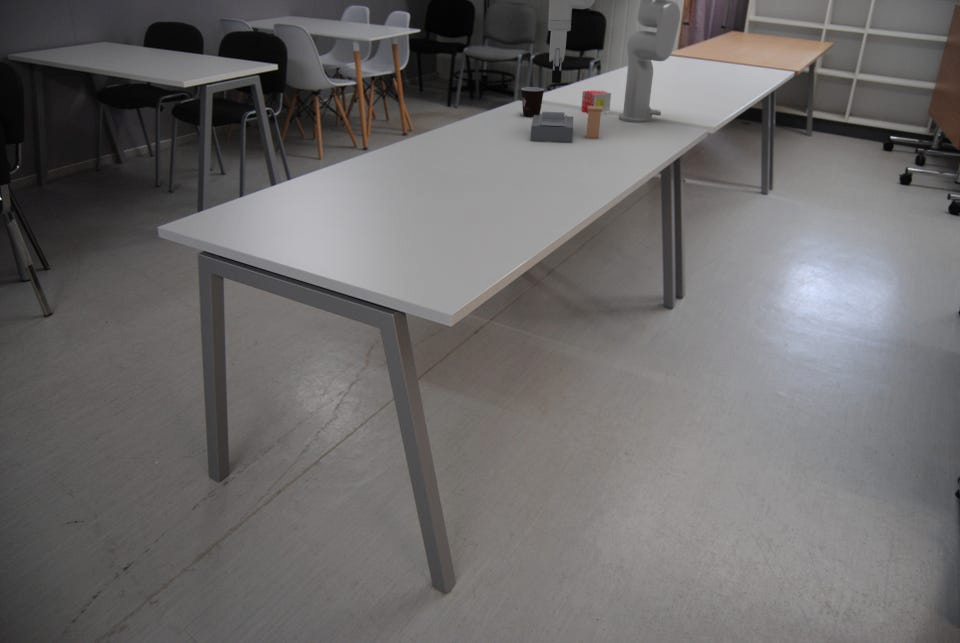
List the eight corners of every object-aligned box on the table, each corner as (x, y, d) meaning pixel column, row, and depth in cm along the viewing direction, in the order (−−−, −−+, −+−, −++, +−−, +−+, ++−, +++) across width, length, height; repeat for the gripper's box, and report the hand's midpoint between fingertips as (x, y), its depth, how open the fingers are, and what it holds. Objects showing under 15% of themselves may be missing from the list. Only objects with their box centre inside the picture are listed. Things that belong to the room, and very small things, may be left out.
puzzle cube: (593, 115, 290) (594, 94, 287) (581, 111, 296) (582, 91, 293) (609, 113, 294) (611, 93, 290) (597, 110, 300) (599, 89, 296)
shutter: (564, 121, 254) (564, 112, 252) (563, 126, 247) (564, 116, 246) (541, 120, 254) (542, 111, 253) (540, 125, 248) (541, 116, 246)
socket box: (572, 130, 265) (573, 115, 262) (572, 142, 249) (573, 126, 246) (533, 129, 266) (533, 113, 264) (530, 140, 250) (531, 124, 248)
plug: (599, 135, 259) (601, 106, 254) (599, 138, 255) (602, 109, 250) (585, 134, 259) (587, 105, 255) (585, 138, 255) (588, 108, 251)
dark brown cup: (543, 118, 283) (544, 91, 279) (520, 117, 283) (521, 90, 279) (541, 112, 294) (542, 86, 289) (519, 111, 294) (520, 85, 289)
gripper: (548, 23, 254) (546, 78, 262) (547, 27, 241) (544, 86, 249) (570, 23, 253) (567, 79, 262) (570, 28, 240) (566, 86, 249)
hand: (556, 82), depth 255 cm, fingers closed
